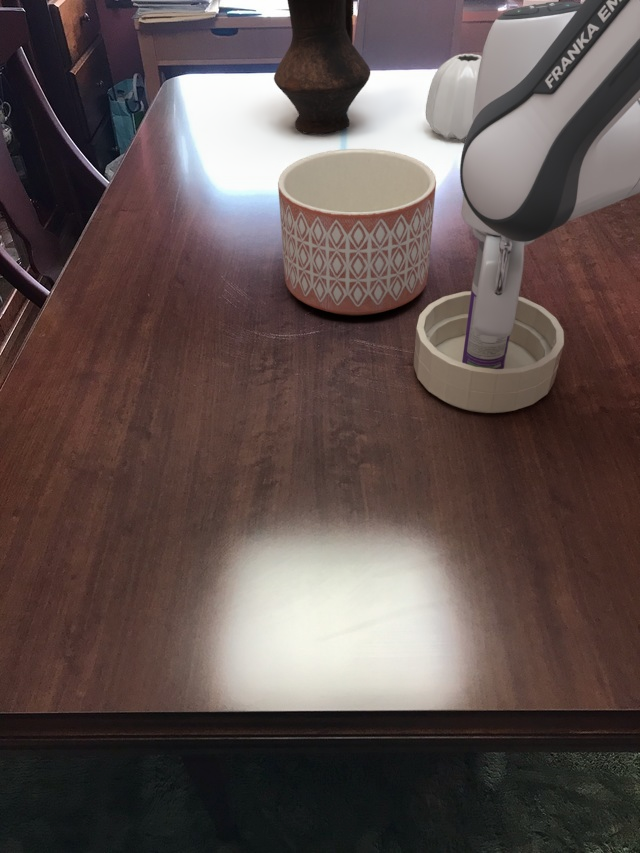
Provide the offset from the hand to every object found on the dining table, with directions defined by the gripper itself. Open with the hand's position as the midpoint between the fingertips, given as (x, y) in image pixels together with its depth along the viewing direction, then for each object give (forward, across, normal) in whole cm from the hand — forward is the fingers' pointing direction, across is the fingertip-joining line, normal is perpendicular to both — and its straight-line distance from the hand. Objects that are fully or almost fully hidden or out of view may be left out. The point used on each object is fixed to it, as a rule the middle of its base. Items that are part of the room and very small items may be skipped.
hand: (489, 322), depth 74 cm
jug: (+7, +75, +36) cm, 84 cm away
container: (+6, 0, 0) cm, 6 cm away
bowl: (+7, 0, 0) cm, 7 cm away
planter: (+7, +16, +18) cm, 25 cm away
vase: (+7, +75, +9) cm, 76 cm away
